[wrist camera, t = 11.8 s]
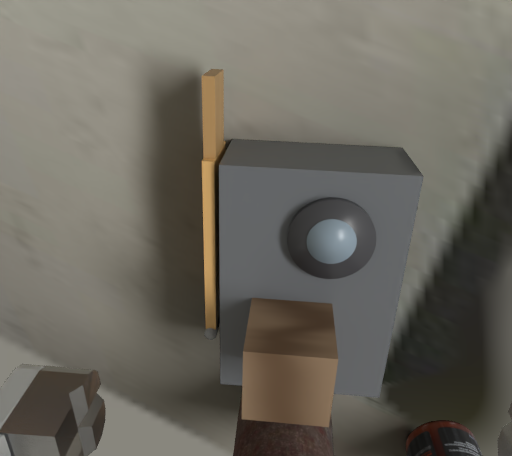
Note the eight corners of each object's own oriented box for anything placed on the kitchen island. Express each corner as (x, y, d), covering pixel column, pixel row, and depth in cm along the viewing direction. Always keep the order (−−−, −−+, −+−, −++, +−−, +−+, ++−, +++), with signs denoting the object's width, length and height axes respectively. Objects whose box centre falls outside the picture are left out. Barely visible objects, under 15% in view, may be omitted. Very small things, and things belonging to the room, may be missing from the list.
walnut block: (332, 303, 28) (338, 359, 24) (324, 365, 30) (328, 427, 26) (252, 297, 29) (243, 351, 24) (250, 359, 31) (241, 419, 26)
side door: (226, 299, 35) (216, 340, 31) (216, 298, 35) (204, 339, 31) (226, 67, 28) (213, 78, 23) (213, 66, 28) (198, 77, 23)
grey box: (368, 344, 36) (380, 404, 31) (230, 333, 37) (218, 390, 31) (402, 147, 29) (426, 180, 24) (232, 139, 30) (217, 168, 24)
